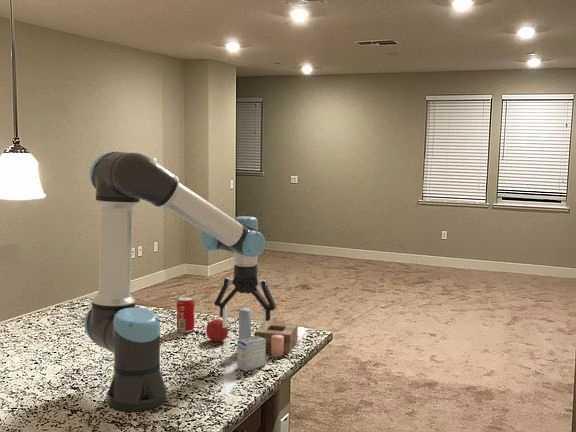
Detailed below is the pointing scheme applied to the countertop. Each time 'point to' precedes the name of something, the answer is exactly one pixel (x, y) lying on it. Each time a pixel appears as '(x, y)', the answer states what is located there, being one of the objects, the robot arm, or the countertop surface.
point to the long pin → (244, 323)
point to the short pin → (277, 345)
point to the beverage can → (185, 314)
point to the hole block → (279, 329)
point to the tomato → (216, 330)
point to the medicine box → (251, 353)
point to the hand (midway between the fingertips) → (244, 328)
